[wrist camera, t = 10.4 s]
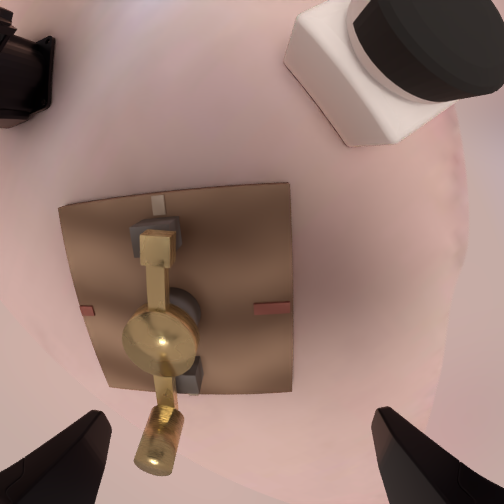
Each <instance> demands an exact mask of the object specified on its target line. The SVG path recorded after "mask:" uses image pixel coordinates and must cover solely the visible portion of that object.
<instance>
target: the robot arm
mask: <svg viewBox="0 0 504 504" xmlns="http://www.w3.org/2000/svg"><path fill="white" fill-rule="evenodd" d="M12 17H13V12H11V11H9V10H7V9H4V8H2V7H0V128H11V127H13V126H15V125H17V124H20V123H22V122H24V121H27V120H28V119H29V118H30V116H31V115H33V114H35V113H38V112H40V111H43V110H45V109H47V108H48V107H49V106H50V104H51V81H52V65H53V53H54V44H55V38H54V37H52V36H48V37H46V38H44V39H42V40H40V41H38V42H36V43H35V42H32V41H30V40H27V39H24V38H22V37H19V36H16V35H14V33H15V32H16V30H17V29H16V28H15V27H14V26H12V25H11V24H12ZM49 41H50V42H49ZM48 42H49V43H48ZM45 101H46V102H45ZM44 102H45V105H44ZM371 429H372V435H373V440H374V445H375V451H376V456H377V462H378V467H379V470H380V474H381V477H382V480H383V483H384V487H385V490H386V493H387V497H388V500H389V503H390V504H504V488H503V487H500V486H499V485H497V484H495V483H493V482H491V481H489V480H487V479H486V478H484V477H482V476H480V475H479V474H477V473H476V472H474V471H473V470H471V469H470V468H468V467H467V466H466V465H465V464H463V463H462V462H460V463H459V460H458V459H456V458H455V457H454V456H452V455H451V454H450V453H448V452H447V451H445V450H444V449H443V448H442V447H440V446H439V445H438V444H437V443H435V442H434V441H433V440H431V439H430V438H429V437H427V436H426V435H425V434H424V433H422V432H421V431H420V430H418V429H417V428H416V427H415V426H413V425H412V424H411V423H410V422H408V421H407V420H406V419H404V418H403V417H402V416H401V415H399V414H398V413H397V412H396V411H394V410H393V409H392V408H391V407H388V406H386V407H381V408H378V409H377V410H376V411H375V415H374V418H373V421H372V425H371ZM111 433H112V429H111V425H110V423H109V421H108V420H107V418H106V416H105V414H104V413H103V412H102V411H98V410H91V411H90V412H88V413H87V414H86V415H84V416H83V417H81V418H80V419H78V420H77V421H76V422H74V423H73V424H71V425H70V426H69V427H67V428H66V429H65V430H63V431H62V432H60V433H59V434H57V435H56V436H55V437H53V438H52V439H50V440H49V441H47V442H46V443H44V444H43V445H41V446H40V447H39V448H37V449H36V450H34V451H33V452H31V453H30V454H28V455H27V456H25V458H22V459H21V460H19V461H18V462H16V463H15V464H13V465H12V466H10V467H8V468H7V469H5V470H3V471H1V472H0V504H95V500H96V496H97V493H98V489H99V486H100V482H101V479H102V475H103V472H104V469H105V464H106V460H107V453H108V448H109V443H110V437H111Z"/></svg>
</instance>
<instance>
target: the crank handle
mask: <svg viewBox="0 0 504 504" xmlns="http://www.w3.org/2000/svg"><path fill="white" fill-rule="evenodd" d="M175 261H176V231H165V230H152V229H147V230H146V231H144V232H143V233H142V234H140V265H143V266H146V281H147V299H148V303H146V304H144V305H142V306H141V307H139V308H138V309H137V310H136V312H135V313H134V314H133V316H132V317H131V319H130V320H129V321H128V323H127V324H126V326H125V327H124V330H123V333H122V343H123V347H124V350H125V352H126V354H127V355H128V357H129V358H130V359H131V361H132V362H133V363H134V364H135V365H137V366H138V367H139V368H140V369H142V370H144V371H145V372H147V373H150V374H152V375H153V377H154V384H155V391H156V397H157V403H158V405H157V406H155V407H153V408H152V410H151V413H150V416H149V418H148V421H147V424H146V427H145V430H144V432H143V435H142V438H141V441H140V444H139V447H138V450H137V452H136V456H135V458H134V463H135V465H136V466H137V467H138V468H140V469H141V470H143V471H145V472H147V473H150V474H152V475H157V476H168V475H170V474H171V473H172V469H173V465H174V461H175V456H176V452H177V448H178V444H179V440H180V435H181V431H182V427H183V423H184V417H183V415H182V413H181V412H179V411H178V402H177V391H176V379H175V376H179V375H182V374H183V373H185V372H187V371H188V370H189V369H190V368H191V366H192V365H193V363H194V360H195V356H196V353H197V349H198V346H199V341H200V334H199V330H198V327H197V325H196V323H195V321H194V320H193V319H192V317H191V316H190V315H189V314H188V313H187V312H185V311H184V310H183V309H181V308H180V307H178V306H176V305H173V304H171V303H170V297H169V268H171V266H172V265H173V263H174V262H175Z"/></svg>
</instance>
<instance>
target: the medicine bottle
mask: <svg viewBox="0 0 504 504" xmlns="http://www.w3.org/2000/svg"><path fill="white" fill-rule="evenodd" d="M284 64H285V65H286V66H287V68H288V69H289V70H290V71H291V72H292V74H293V75H294V76H295V77H296V78H297V80H298V81H299V82H300V83H301V85H302V86H303V87H304V88H305V90H306V91H307V92H308V93H309V95H310V96H311V97H312V98H313V100H314V101H315V102H316V104H317V105H318V106H319V108H320V109H321V110H322V112H323V113H324V114H325V116H326V117H327V119H328V120H329V121H330V123H331V124H332V125H333V127H334V128H335V130H336V131H337V133H338V134H339V135H340V137H341V138H342V140H343V141H344V143H345V144H346V145H347V146H348V147H360V146H376V145H394V144H397V143H399V142H400V141H402V140H403V139H405V138H406V137H407V136H409V135H410V134H412V133H413V132H415V131H416V130H417V129H419V128H420V127H422V126H423V125H424V124H426V123H427V122H429V121H430V120H432V119H433V118H434V117H436V116H437V115H439V114H440V113H441V112H443V111H444V110H446V109H447V108H449V107H450V106H451V105H453V104H454V103H456V102H457V101H458V100H460V99H464V98H469V97H474V96H480V95H486V94H491V93H493V92H495V91H497V90H498V89H499V88H501V87H502V85H503V84H504V22H503V20H502V17H501V16H500V14H499V12H498V10H497V9H496V7H495V5H494V4H493V2H492V1H491V0H327V1H325V2H323V3H321V4H319V5H316V6H314V7H312V8H310V9H308V10H306V11H304V12H302V13H300V14H299V15H298V16H297V17H296V20H295V24H294V27H293V30H292V34H291V37H290V40H289V44H288V47H287V50H286V54H285V57H284Z"/></svg>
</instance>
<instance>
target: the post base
mask: <svg viewBox="0 0 504 504" xmlns="http://www.w3.org/2000/svg"><path fill="white" fill-rule="evenodd" d="M58 211H59V218H60V224H61V229H62V235H63V240H64V245H65V249H66V254H67V259H68V263H69V267H70V271H71V275H72V279H73V283H74V287H75V291H76V294H77V298H78V301H79V305H80V306H79V307H80V310H81V313H82V316H83V318H84V321H85V324H86V327H87V330H88V333H89V336H90V339H91V342H92V344H93V347H94V350H95V353H96V355H97V358H98V360H99V363H100V365H101V368H102V370H103V373H104V375H105V378H106V380H107V383H108V385H109V387H112V388H120V389H129V390H139V391H150V392H156V391H155V384H154V377H153V375H152V374H150V373H147V372H145V371H144V370H142V369H140V368H139V367H138V366H137V365H135V364H134V363H133V362H132V361H131V359H130V358H129V357H128V355H127V354H126V352H125V350H124V347H123V343H122V333H123V330H124V327H125V326H126V324H127V323H128V321H129V320H130V319H131V317H132V316H133V314H134V313H135V312H136V310H137V309H138V308H139V307H141V306H142V305H144V304H146V303H148V299H147V281H146V266H143V265H140V234H142V233H143V232H144V231H146V230H147V229H152V230H165V231H176V261H175V262H174V263H173V265H172V266H171V268H169V297H170V303H171V304H173V305H176V306H178V307H180V308H181V309H183V310H184V311H185V312H187V313H188V314H189V315H190V316H191V317H192V319H193V320H194V321H195V323H196V325H197V327H198V330H199V334H200V341H199V346H198V349H197V353H196V356H195V360H194V363H193V365H192V366H191V368H190V369H189V370H188V371H187V372H185V373H183V374H182V375H179V376H175V379H176V391H177V393H182V394H189V395H191V396H198V394H263V393H281V392H292V367H293V271H292V228H291V199H290V184H289V183H288V182H283V183H262V184H245V185H231V186H217V187H205V188H194V189H183V190H173V191H164V192H155V193H146V194H138V195H130V196H123V197H115V198H108V199H101V200H95V201H88V202H82V203H76V204H70V205H65V206H62V207H59V208H58Z"/></svg>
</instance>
